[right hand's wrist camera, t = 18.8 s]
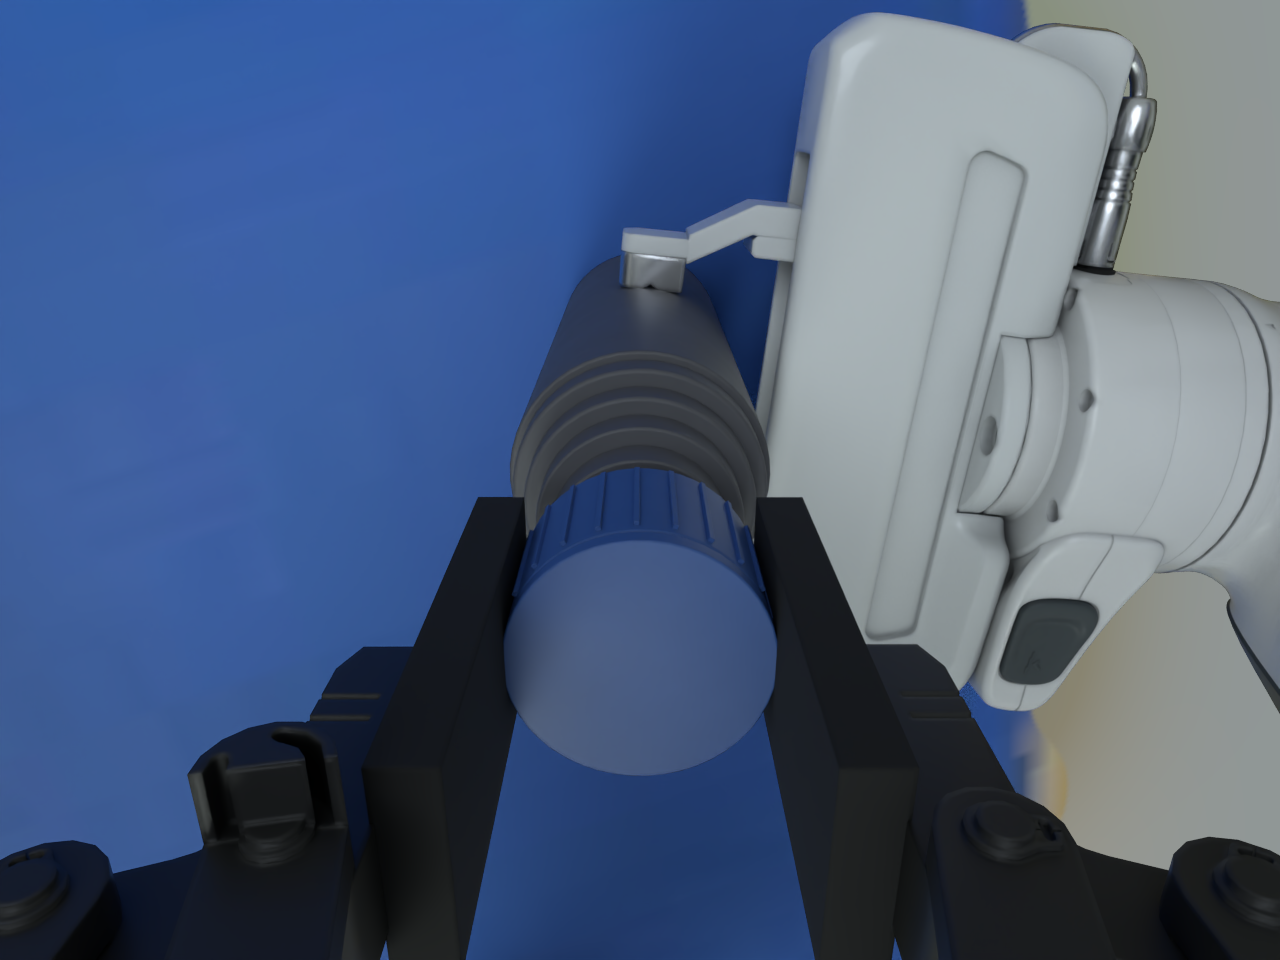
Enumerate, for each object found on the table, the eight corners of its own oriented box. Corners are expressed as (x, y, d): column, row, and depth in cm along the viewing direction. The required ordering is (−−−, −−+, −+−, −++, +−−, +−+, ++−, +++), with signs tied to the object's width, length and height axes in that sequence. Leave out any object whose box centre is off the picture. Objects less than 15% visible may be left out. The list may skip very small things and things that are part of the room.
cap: (472, 582, 15) (438, 675, 12) (629, 413, 14) (627, 477, 11) (648, 713, 16) (649, 822, 13) (808, 564, 15) (843, 654, 12)
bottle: (746, 342, 32) (905, 668, 13) (628, 431, 34) (613, 850, 14) (652, 219, 31) (672, 383, 11) (532, 318, 32) (368, 617, 13)
